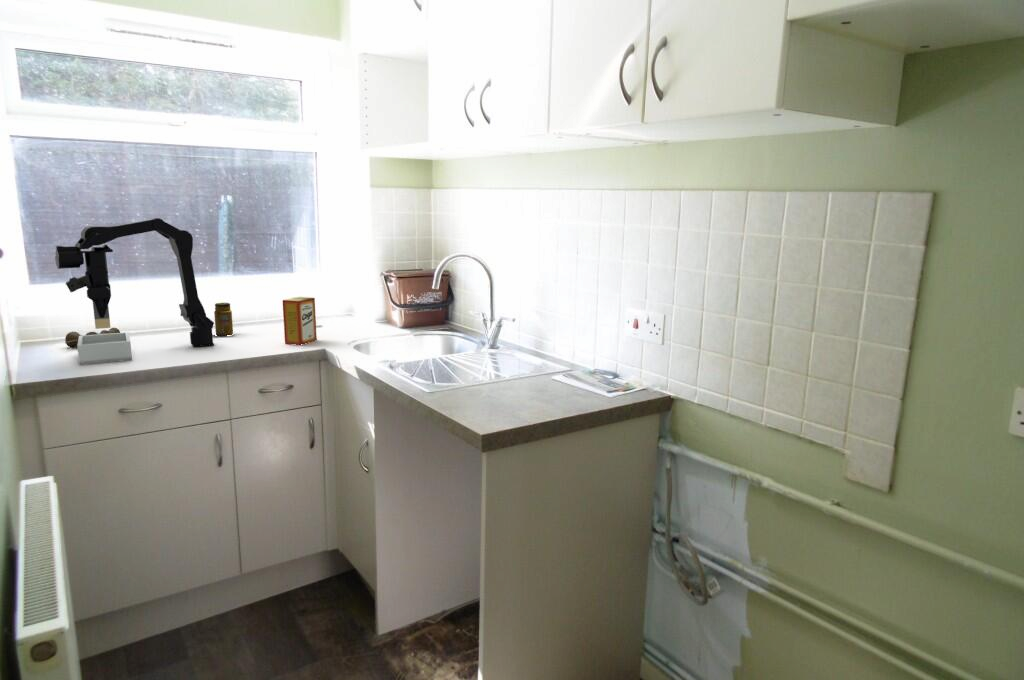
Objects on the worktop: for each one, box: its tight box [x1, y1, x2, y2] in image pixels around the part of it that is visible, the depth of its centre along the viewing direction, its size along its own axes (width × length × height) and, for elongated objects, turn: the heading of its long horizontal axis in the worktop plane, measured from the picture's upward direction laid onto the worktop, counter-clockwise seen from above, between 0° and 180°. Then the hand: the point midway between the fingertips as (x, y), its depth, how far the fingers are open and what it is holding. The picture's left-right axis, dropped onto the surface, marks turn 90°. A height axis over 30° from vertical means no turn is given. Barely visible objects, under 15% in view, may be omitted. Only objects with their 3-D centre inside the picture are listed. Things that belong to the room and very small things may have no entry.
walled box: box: [76, 331, 133, 366], centre depth 214 cm, size 14×18×6 cm
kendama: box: [64, 327, 121, 348], centre depth 231 cm, size 6×10×20 cm
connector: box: [92, 301, 111, 330], centre depth 212 cm, size 4×4×9 cm
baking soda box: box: [282, 296, 318, 346], centre depth 239 cm, size 10×6×16 cm
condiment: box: [212, 302, 234, 338], centre depth 251 cm, size 7×8×12 cm
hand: (102, 316), depth 212 cm, fingers closed on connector, 4 cm apart
